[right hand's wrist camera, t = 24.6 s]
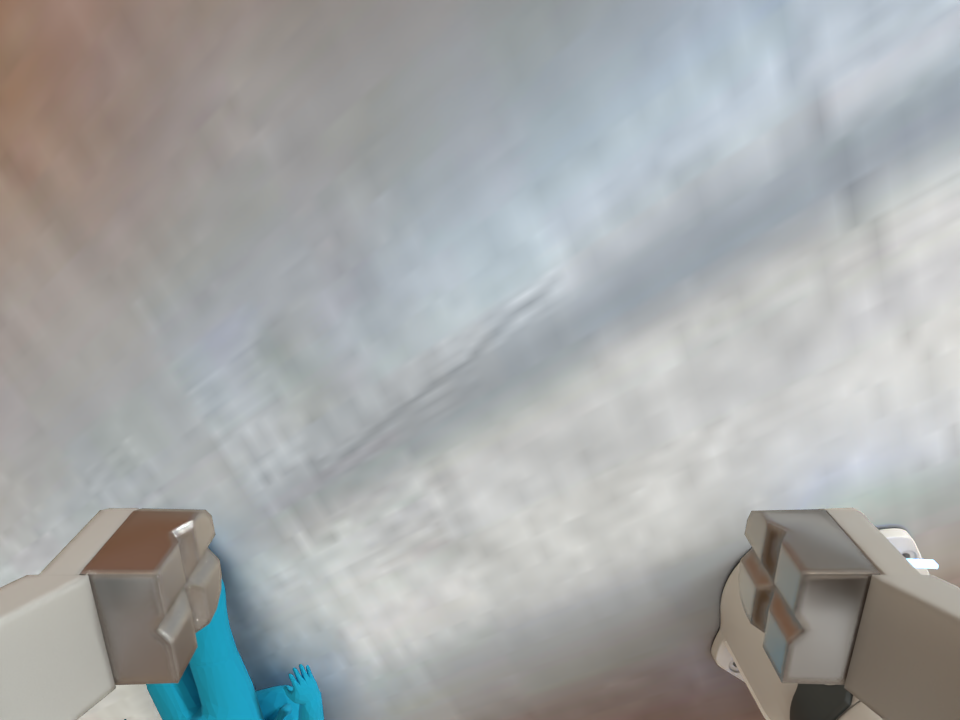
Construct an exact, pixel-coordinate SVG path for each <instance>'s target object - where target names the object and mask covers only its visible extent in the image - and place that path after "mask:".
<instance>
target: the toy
mask: <svg viewBox="0 0 960 720" xmlns="http://www.w3.org/2000/svg"><path fill="white" fill-rule="evenodd" d="M195 635H196V640H197V646H198V647H197V649H196V650H195V652H194V654H193V656H192V658H191V660H190V662H189V664H188V666H187V667H186V669H185V671H184V673H183V675H182V677H181V679H180V681H179V683H163V684H146V685H147V689H148V691H149V693H150V695H151V697H152V699H153V702H154V704H155V706H156V708H157V710H158V712H159V714H160V716H161V718H162V719H163V720H324V715H323V706H322V698H321V692H320V691H319V688H318V686H317V683H316V681H315V679H314V677H313V675H312V673H311V670H310V668H309V666H308V665H307V666H306V670H307V673H306V671H305V669H304V666H303V665H302V664H300V665H299V668H300V671H301V675H302V676H301V675H300V673H299V672H298V670H297V669H296V668H293V671H294V674H295V676H296V679H297V680H296V679H295V677H294V676H293V675H292V674H289V678H290V680H291V682H292V685H293V687H292V686H289V685H281V686H274V687H270V688H266V689H262V690H258V691H255V689H254V686H253V683H252V681H251V678H250V676H249V674H248V672H247V670H246V667H245V665H244V663H243V661H242V659H241V656H240V654H239V652H238V650H237V648H236V645H235V641H234V638H233V635H232V632H231V629H230V625H229V619H228V614H227V607H226V593H225V586H224V582H223V580H221V593H220V597H219V602H218V606H217V610H216V612H215V614H214V616H213V618H212V620H211V622H210V624H208V625H207V626H205V627H204V628H202V629H201V630H199V631H198V632H197V633H195ZM124 720H126V719H124Z"/></svg>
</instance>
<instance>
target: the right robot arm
mask: <svg viewBox="0 0 960 720" xmlns="http://www.w3.org/2000/svg"><path fill="white" fill-rule="evenodd" d="M214 536H215V530H214V525H213V520H212V516H211V515H210V514H209V513H208V512H207V511H206V510H194V509H145V508H142V509H138V508H109V509H104V510H100V511H99V512H98V513H97V514H96V515H95V516H94V517H93V518H92V519H91V520H90V521H89V522H88V524H87V525H86V526H85V527H84V528H83V529H82V530H81V531H80V532H79V533H78V534H77V535H76V536H75V537H74V538H73V539H72V540H71V541H70V542H69V543H68V545H67V546H66V547H65V548H64V549H63V550H62V551H61V552H60V553H59V554H58V555H57V556H56V557H55V558H54V559H53V560H52V561H51V562H50V563H49V564H48V566H47V567H46V568H45V569H44V570H43V571H42V572H41V573H40V574H39V575H26V576H24V577H22V578H20V579H18V580H16V581H14V582H11V583H9V584H7V585H5V586H3V587H1V588H0V720H77V719H78V718H80V717H81V716H82V715H83V714H85V713H86V712H87V711H88V710H89V709H91V708H92V707H93V706H94V705H96V704H97V703H98V702H99V701H101V700H102V699H103V698H104V697H105V696H107V695H108V694H109V693H110V692H112V691H113V690H114V689H115V688H116V686H115V685H129V684H163V683H179V681H180V679H181V677H182V675H183V673H184V671H185V669H186V667H187V666H188V664H189V662H190V660H191V658H192V656H193V654H194V652H195V650H196V649H197V647H198V646H197V640H196V635H195V633H197V632H198V631H199V630H201V629H202V628H204V627H205V626H207V625H208V624H210V622H211V620H212V618H213V616H214V614H215V612H216V610H217V606H218V602H219V597H220V593H221V580H222V573H221V566H220V559H219V558H218V557H217V556H216V555H215V554H214V553H213V552H212V551H211V550H210V549H209V548H208V546H209V544H210V543H211V541H212V539H213V538H214ZM745 536H746V538H747V539H748V541H749V543H750V544H751V546H752V548H751V549H750V550H749V551H748V552H747V553H746V554H745V555H744V556H743V557H742V558H741V559H740V562H739V564H738V565H737V566H736V567H735V569H734V570H733V571H732V573H731V575H730V576H729V578H728V580H727V582H726V584H725V587H724V590H723V593H722V597H721V604H720V613H721V625H720V630H719V632H718V633H717V636H716V638H715V640H714V642H713V645H712V648H711V655H712V657H713V658H714V660H715V662H716V663H717V665H718V666H720V667H721V668H722V669H724V670H726V671H727V672H729V673H730V674H732V675H734V676H735V677H737V678H738V679H740V680H742V681H743V682H745V683H746V685H747V687H748V689H749V690H750V692H751V694H752V696H753V698H754V700H755V702H756V703H757V705H758V707H759V709H760V711H761V713H762V714H763V716H764V718H765V719H766V720H960V588H959V587H957V586H955V585H953V584H951V583H949V582H946V581H944V580H942V579H940V578H938V577H936V576H934V575H930V574H929V572H928V570H927V568H933V569H937V568H938V566H939V565H938V564H937V563H936V562H935V561H934V560H927V559H922V557H921V555H920V552H919V550H918V548H917V546H916V544H915V542H914V540H913V539H912V538H911V536H910V535H909V534H908V533H907V532H906V531H905V530H903V529H898V528H891V529H881V530H878V529H877V528H876V527H875V526H874V524H873V523H872V522H871V521H870V520H869V519H868V518H867V517H866V516H865V515H864V514H863V513H862V512H861V511H859V510H856V509H854V508H831V509H811V510H766V511H751V513H750V515H749V517H748V519H747V523H746V529H745ZM903 553H904V554H903ZM902 554H903V555H902Z"/></svg>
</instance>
